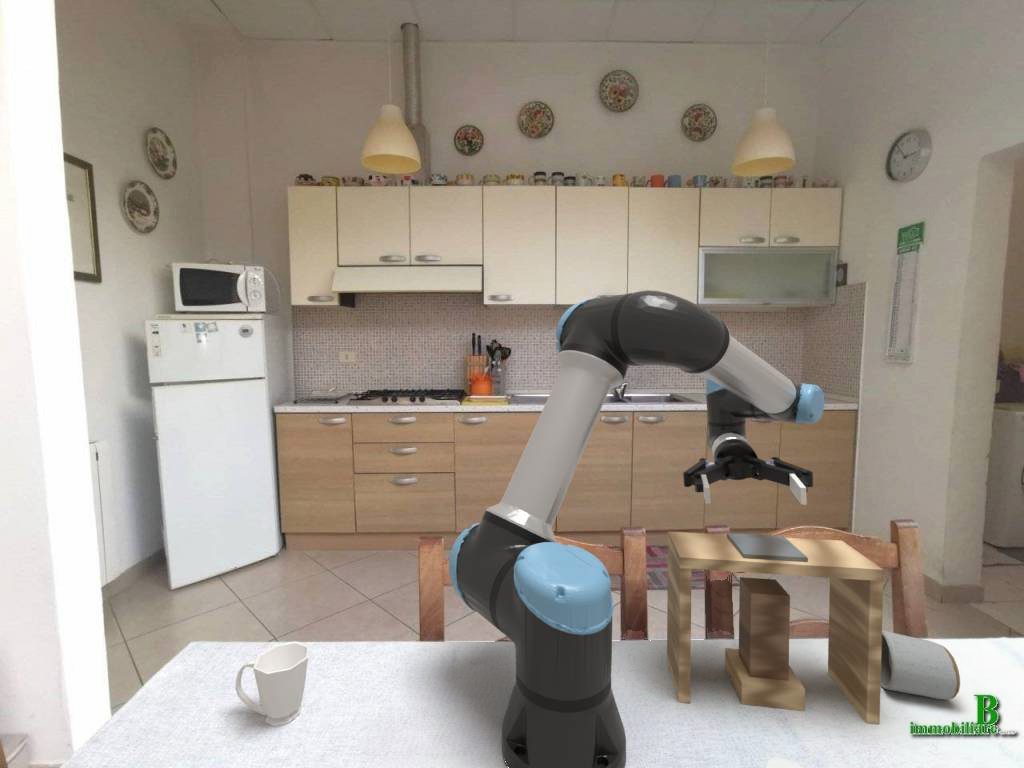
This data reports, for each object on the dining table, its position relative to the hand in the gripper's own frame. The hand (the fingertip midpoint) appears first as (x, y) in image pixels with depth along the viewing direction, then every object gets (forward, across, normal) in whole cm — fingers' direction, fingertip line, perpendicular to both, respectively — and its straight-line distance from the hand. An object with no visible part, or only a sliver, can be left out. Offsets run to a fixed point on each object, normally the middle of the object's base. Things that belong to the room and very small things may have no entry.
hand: (754, 496), depth 73 cm
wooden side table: (+10, +2, -25) cm, 27 cm away
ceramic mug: (+2, -18, -28) cm, 34 cm away
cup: (+35, +65, -18) cm, 76 cm away
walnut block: (+9, +2, -22) cm, 24 cm away
